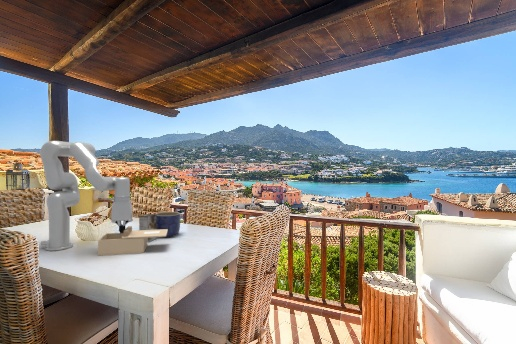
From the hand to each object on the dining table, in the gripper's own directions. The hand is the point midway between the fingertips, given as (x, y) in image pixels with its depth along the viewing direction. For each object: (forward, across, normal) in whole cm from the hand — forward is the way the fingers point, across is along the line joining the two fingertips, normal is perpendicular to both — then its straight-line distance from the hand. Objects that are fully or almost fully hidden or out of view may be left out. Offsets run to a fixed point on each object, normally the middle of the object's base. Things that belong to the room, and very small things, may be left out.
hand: (122, 232), depth 152 cm
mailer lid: (+1, +12, 0) cm, 13 cm away
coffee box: (+10, +11, +18) cm, 23 cm away
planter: (+10, +22, +28) cm, 37 cm away
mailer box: (+10, +1, 0) cm, 10 cm away
